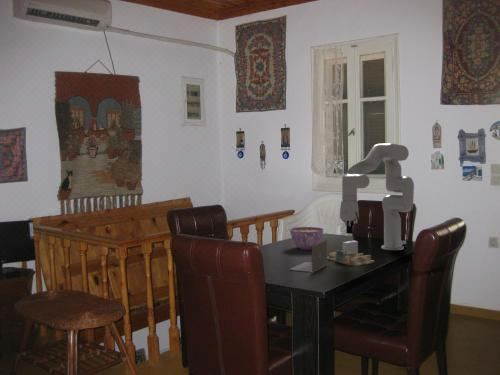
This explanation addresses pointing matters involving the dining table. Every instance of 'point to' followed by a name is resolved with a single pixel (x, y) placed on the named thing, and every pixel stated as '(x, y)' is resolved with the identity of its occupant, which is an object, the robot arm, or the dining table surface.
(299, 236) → the bowl of food
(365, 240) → the dining table surface
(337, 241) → the dining table surface
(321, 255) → the laptop
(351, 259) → the bay rack
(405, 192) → the robot arm
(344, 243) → the grey rectangular block
